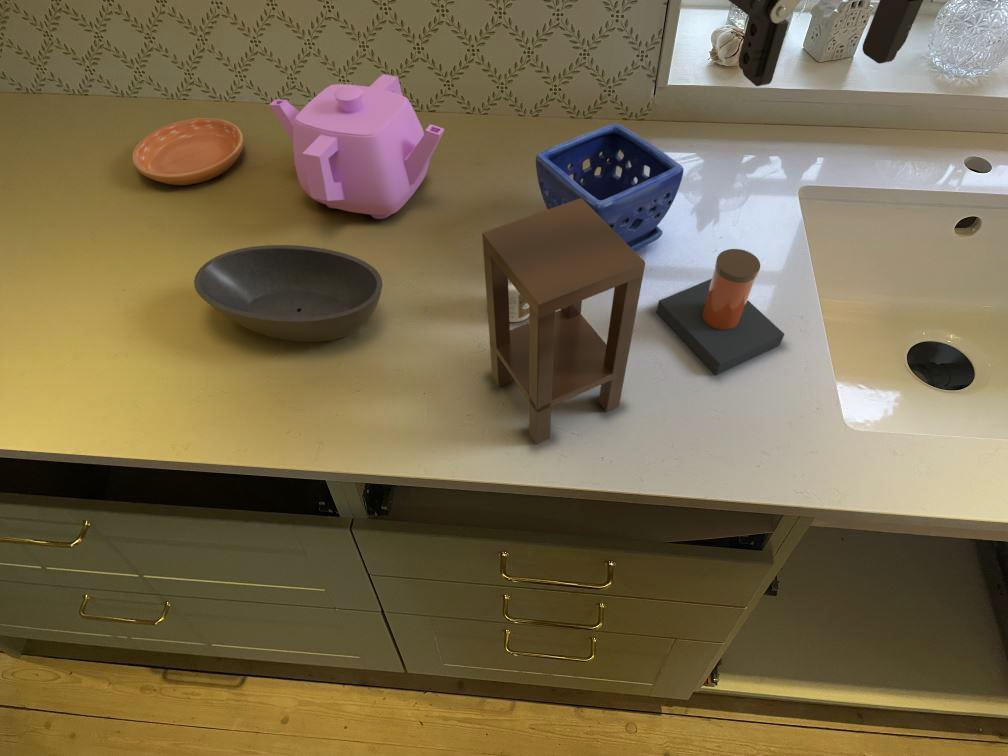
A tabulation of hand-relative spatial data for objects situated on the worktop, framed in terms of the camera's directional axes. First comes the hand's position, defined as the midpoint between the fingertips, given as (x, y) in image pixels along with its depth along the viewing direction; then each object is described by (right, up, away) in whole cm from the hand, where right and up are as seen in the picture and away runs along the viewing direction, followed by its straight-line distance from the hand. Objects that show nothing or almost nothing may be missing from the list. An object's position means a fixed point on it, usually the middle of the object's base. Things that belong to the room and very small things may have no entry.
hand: (816, 68), depth 40 cm
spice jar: (+5, -12, +33) cm, 36 cm away
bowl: (-44, -12, +38) cm, 59 cm away
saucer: (-67, +14, +60) cm, 91 cm away
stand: (-14, -21, +30) cm, 39 cm away
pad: (+5, -13, +35) cm, 38 cm away
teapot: (-39, +7, +53) cm, 66 cm away
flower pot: (-7, -1, +45) cm, 46 cm away
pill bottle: (-18, -11, +38) cm, 43 cm away
